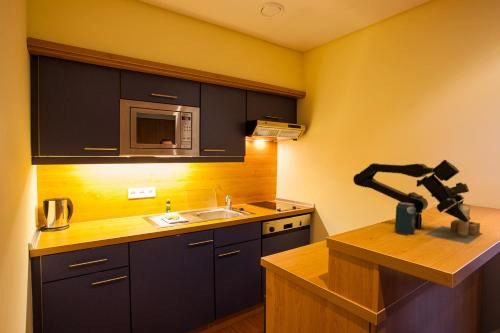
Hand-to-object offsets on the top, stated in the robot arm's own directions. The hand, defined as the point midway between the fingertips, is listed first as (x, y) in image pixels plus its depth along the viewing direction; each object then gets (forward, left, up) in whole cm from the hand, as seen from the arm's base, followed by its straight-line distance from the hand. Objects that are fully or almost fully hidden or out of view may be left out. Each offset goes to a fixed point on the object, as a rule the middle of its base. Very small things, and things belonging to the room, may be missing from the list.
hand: (468, 220), depth 109 cm
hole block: (+6, +7, -7) cm, 11 cm away
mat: (-1, +5, -7) cm, 9 cm away
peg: (-1, +1, -7) cm, 7 cm away
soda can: (-20, +9, -7) cm, 23 cm away
